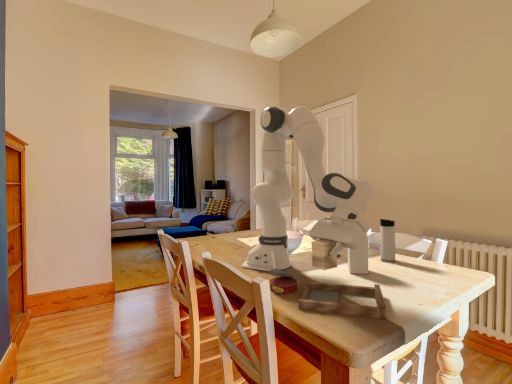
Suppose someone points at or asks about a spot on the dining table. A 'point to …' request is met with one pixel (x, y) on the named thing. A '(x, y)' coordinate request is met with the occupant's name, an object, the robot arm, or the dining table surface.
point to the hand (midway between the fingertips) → (322, 253)
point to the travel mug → (387, 240)
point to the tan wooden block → (323, 254)
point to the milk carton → (359, 258)
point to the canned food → (282, 282)
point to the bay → (327, 301)
